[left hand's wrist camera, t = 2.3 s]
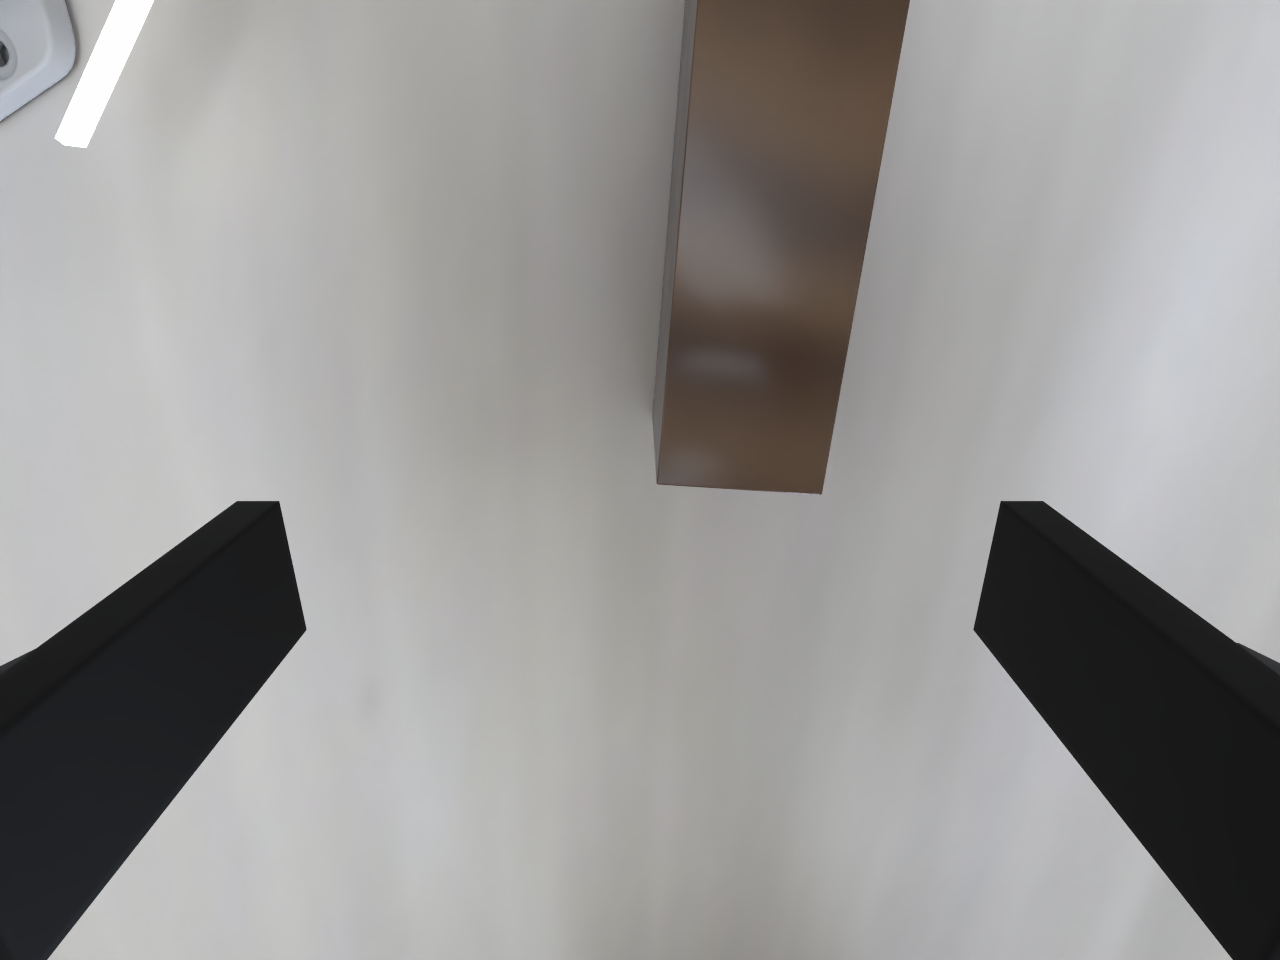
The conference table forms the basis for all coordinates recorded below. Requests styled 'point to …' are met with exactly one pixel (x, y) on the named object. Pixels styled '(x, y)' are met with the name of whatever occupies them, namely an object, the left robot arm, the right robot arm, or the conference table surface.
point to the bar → (768, 233)
